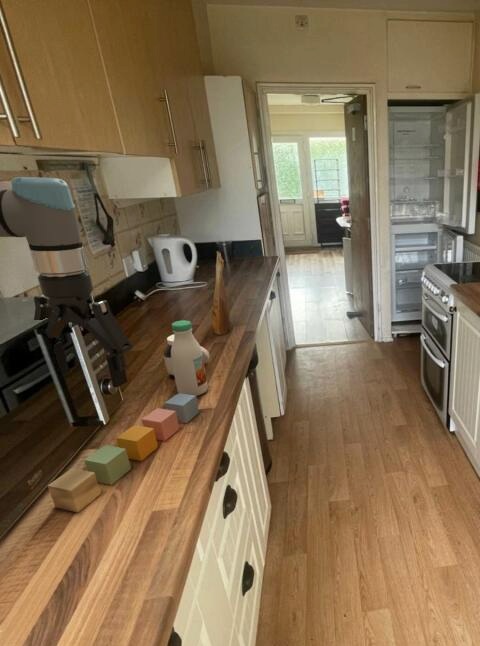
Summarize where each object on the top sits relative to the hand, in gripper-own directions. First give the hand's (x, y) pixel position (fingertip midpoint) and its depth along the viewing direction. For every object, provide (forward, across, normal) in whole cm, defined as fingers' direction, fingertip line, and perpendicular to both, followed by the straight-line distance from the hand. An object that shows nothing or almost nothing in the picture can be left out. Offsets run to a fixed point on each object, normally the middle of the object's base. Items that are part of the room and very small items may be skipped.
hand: (90, 379), depth 84 cm
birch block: (+18, -4, +12) cm, 23 cm away
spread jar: (+18, +10, -41) cm, 46 cm away
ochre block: (+18, -5, -3) cm, 19 cm away
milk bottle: (+18, +1, -30) cm, 35 cm away
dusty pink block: (+18, -5, -10) cm, 22 cm away
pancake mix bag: (+18, +21, -76) cm, 81 cm away
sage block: (+18, -4, +5) cm, 19 cm away
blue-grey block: (+18, -5, -18) cm, 26 cm away
